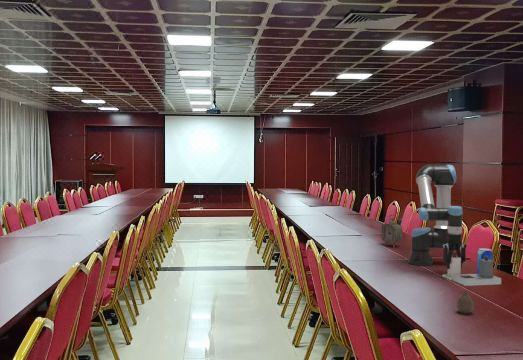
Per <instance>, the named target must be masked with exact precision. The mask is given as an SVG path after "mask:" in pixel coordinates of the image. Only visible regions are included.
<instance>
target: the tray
mask: <svg viewBox="0 0 523 360" xmlns="http://www.w3.org/2000/svg"><path fill="white" fill-rule="evenodd" d="M441 276H442V278H445V279H447V280H450V281H453V278H450V277H448V274H447V273H445V274H441Z"/></svg>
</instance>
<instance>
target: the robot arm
mask: <svg viewBox="0 0 523 360" xmlns="http://www.w3.org/2000/svg"><path fill="white" fill-rule="evenodd" d="M456 182H457V173H456V168H455V166H454V165H452V164H427V165H423V166H422V167H421V168H420V169H419V170H418V172H417V173H416V176H415V183H416V184H417V186H418V192H419V199H420V200H419V201H420V207H419V208H418V219H419V220H420V221H431V222H433V221H434V222H435V225H434V226H433V229H431V227H428V226H427V227H425V226H423V227H417V228H416V227H415V228H413V229H412V230H411V236H410V237H411V252H410V254H409V256H408V264H410V265H414V266H420V267H422V266H423V267H424V266H432V265H433V264H434V261H433V257H432V255H431V249H442V250H443V251H442V253H443V255H442V261H443V262H444V263H446V265H445V266H446V269H447V273H446V274H449V275H451V263H450V261H451V258H452V256H453V253H456V256H457V257H460V258H461V269H462V268H463V264H464V262H466V256H467V255H466V248H467V244H465V243H463V242H462V239H463V235H462V233H463V207H462V206H460V205H452V204H451V203H452V202H451V199H452V195H451V194H452V192H451V191H452V188H453V187H454V184H455V183H456ZM432 183H433V185H434V187H436V207H435V199H434V194H433V188H432ZM454 251H455V252H454Z"/></svg>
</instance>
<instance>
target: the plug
mask: <svg viewBox="0 0 523 360" xmlns="http://www.w3.org/2000/svg"><path fill="white" fill-rule="evenodd" d="M450 263H451V275H449V274H448V277H450V278H453V275H459V274H462V272H461V271H462V268H461V258H460V257H457V254H456V252H453V254H452V258H451V261H450Z"/></svg>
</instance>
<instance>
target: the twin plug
mask: <svg viewBox="0 0 523 360" xmlns="http://www.w3.org/2000/svg"><path fill="white" fill-rule="evenodd" d="M479 276H481V277H483V278H490V277H493V276H494V261H492V260H488V256H484V259H479Z"/></svg>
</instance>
